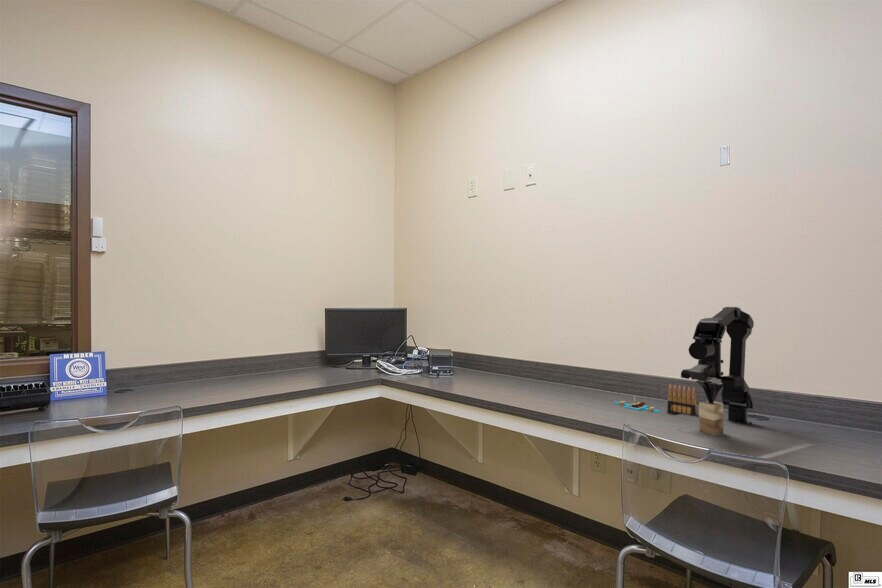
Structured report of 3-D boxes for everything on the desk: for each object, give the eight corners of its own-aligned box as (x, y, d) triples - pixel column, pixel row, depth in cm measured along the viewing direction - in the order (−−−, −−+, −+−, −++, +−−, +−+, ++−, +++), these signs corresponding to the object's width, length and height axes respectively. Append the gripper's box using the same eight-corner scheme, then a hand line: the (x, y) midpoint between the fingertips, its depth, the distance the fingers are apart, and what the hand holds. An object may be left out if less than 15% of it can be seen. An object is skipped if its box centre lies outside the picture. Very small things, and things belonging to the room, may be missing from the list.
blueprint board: (704, 426, 164) (703, 423, 164) (750, 438, 149) (750, 435, 149) (674, 432, 157) (674, 429, 157) (719, 446, 142) (719, 443, 142)
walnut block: (708, 429, 156) (708, 414, 156) (723, 433, 152) (723, 418, 152) (699, 431, 154) (699, 416, 154) (713, 435, 150) (713, 420, 150)
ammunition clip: (697, 417, 174) (697, 386, 174) (695, 418, 173) (695, 387, 173) (669, 412, 183) (668, 382, 183) (667, 413, 181) (666, 383, 181)
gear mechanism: (622, 402, 202) (610, 405, 196) (622, 390, 202) (609, 393, 196) (666, 411, 186) (654, 415, 180) (666, 398, 186) (654, 402, 180)
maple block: (708, 414, 156) (708, 400, 156) (723, 418, 152) (723, 403, 152) (699, 416, 154) (699, 402, 154) (713, 420, 150) (713, 405, 150)
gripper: (670, 354, 158) (670, 399, 158) (723, 362, 141) (723, 412, 141) (691, 352, 163) (691, 396, 163) (745, 359, 146) (745, 408, 146)
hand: (711, 402), depth 153 cm, fingers closed, pressing on maple block
